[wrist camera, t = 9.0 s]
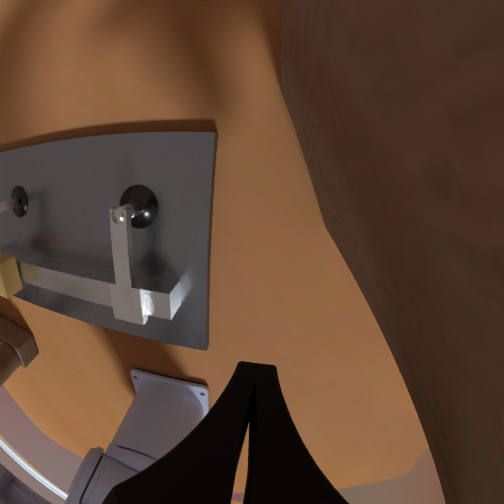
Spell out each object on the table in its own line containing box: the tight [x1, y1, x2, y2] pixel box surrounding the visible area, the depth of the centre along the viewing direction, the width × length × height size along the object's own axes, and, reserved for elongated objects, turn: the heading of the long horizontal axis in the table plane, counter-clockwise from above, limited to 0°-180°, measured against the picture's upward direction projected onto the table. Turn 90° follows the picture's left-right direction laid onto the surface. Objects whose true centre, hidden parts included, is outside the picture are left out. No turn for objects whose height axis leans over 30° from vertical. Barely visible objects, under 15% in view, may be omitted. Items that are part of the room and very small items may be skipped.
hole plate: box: [0, 132, 218, 351], centre depth 18 cm, size 16×26×4 cm, turn 85°
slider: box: [0, 198, 23, 299], centre depth 17 cm, size 8×3×4 cm, turn 175°
